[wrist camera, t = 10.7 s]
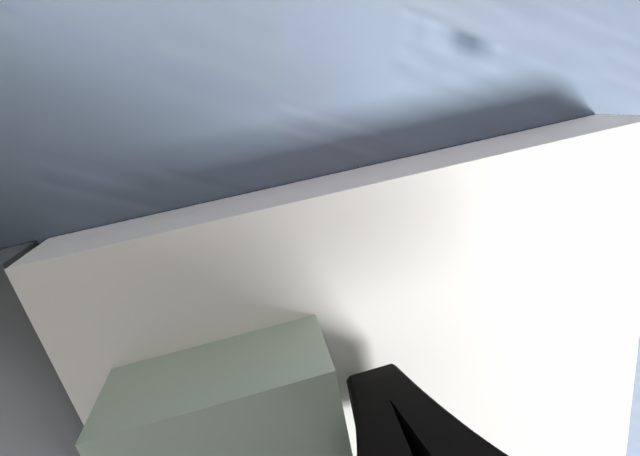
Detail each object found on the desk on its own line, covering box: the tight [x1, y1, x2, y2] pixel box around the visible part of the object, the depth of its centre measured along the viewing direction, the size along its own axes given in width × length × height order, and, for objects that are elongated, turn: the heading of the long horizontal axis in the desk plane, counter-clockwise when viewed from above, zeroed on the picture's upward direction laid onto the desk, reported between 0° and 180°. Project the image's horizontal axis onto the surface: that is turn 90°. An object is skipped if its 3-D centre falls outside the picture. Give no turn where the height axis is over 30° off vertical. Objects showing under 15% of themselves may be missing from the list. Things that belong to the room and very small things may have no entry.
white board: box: [4, 114, 640, 456], centre depth 13 cm, size 18×16×2 cm
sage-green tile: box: [75, 315, 353, 456], centre depth 9 cm, size 5×5×2 cm
